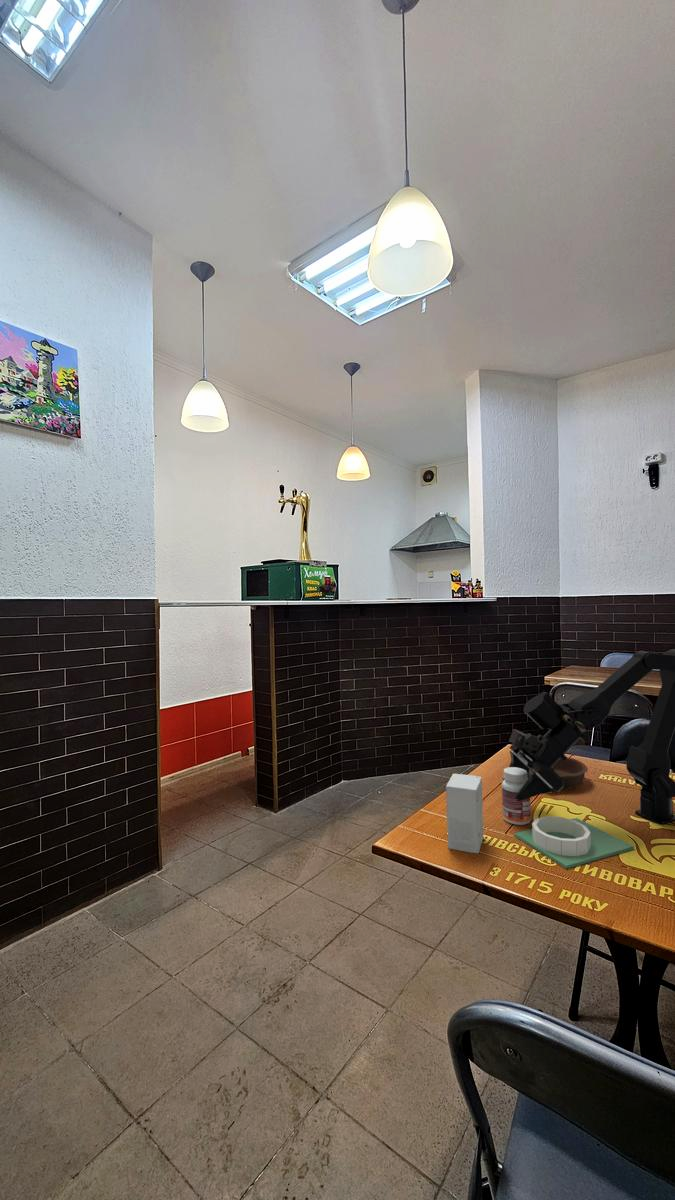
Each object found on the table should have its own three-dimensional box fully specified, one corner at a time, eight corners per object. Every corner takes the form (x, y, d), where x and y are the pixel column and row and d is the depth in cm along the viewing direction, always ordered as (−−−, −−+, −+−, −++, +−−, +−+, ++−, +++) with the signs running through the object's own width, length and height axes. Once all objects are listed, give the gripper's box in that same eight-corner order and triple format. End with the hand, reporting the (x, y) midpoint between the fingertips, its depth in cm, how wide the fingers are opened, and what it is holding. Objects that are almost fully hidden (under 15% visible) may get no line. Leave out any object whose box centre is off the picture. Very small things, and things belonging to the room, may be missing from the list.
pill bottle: (528, 828, 108) (527, 777, 108) (500, 822, 111) (498, 773, 111) (532, 816, 113) (531, 768, 113) (505, 811, 116) (504, 764, 116)
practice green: (577, 820, 111) (576, 804, 111) (633, 849, 98) (633, 831, 98) (514, 836, 104) (513, 819, 104) (566, 868, 91) (565, 849, 91)
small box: (454, 831, 107) (452, 772, 107) (484, 836, 104) (482, 776, 104) (446, 848, 100) (445, 785, 100) (478, 854, 97) (476, 789, 97)
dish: (511, 788, 131) (510, 770, 131) (528, 764, 149) (528, 748, 149) (582, 801, 121) (582, 781, 121) (592, 774, 140) (591, 757, 140)
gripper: (516, 709, 121) (473, 754, 121) (547, 729, 103) (497, 782, 103) (549, 740, 121) (506, 785, 121) (586, 765, 102) (535, 818, 103)
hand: (509, 791), depth 112 cm, fingers open, 9 cm apart
